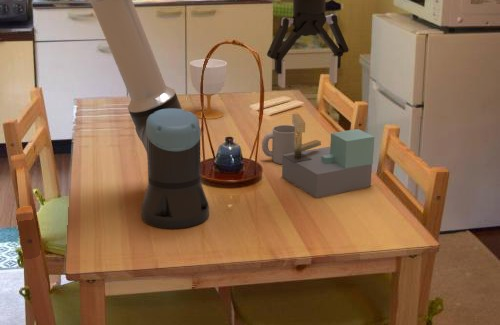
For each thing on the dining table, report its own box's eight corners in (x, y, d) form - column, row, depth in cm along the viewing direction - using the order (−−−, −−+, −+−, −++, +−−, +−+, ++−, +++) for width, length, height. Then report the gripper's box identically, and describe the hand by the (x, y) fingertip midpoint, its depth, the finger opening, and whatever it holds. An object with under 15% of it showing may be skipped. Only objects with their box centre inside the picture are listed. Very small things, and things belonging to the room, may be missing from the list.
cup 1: (231, 111, 263) (231, 59, 257) (221, 121, 252) (221, 68, 246) (196, 109, 265) (195, 57, 260) (185, 119, 255) (184, 65, 249)
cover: (336, 170, 194) (337, 142, 192) (321, 161, 200) (322, 134, 198) (372, 163, 198) (374, 136, 196) (356, 155, 204) (358, 128, 202)
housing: (314, 198, 193) (315, 174, 191) (280, 177, 206) (280, 154, 204) (370, 186, 201) (372, 163, 198) (334, 167, 214) (335, 144, 212)
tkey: (327, 161, 199) (329, 122, 196) (297, 162, 198) (298, 123, 195) (319, 148, 208) (320, 111, 205) (290, 150, 207) (290, 112, 204)
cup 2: (300, 164, 215) (301, 132, 212) (263, 165, 214) (263, 133, 211) (296, 155, 222) (297, 124, 219) (260, 156, 221) (260, 125, 218)
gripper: (350, -10, 196) (346, 76, 203) (253, -5, 187) (253, 85, 195) (364, -6, 189) (360, 83, 196) (265, 0, 181) (265, 92, 188)
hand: (307, 84), depth 195 cm, fingers open, 13 cm apart
